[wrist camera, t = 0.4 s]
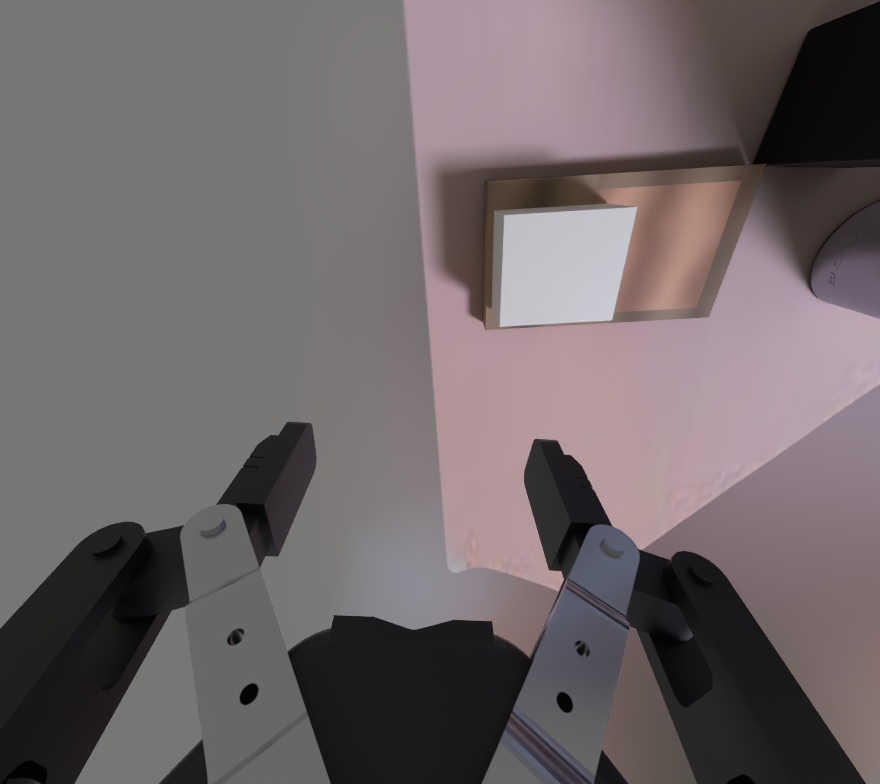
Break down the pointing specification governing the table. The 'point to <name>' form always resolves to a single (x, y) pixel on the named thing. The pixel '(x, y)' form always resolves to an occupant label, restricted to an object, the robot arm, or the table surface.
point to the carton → (559, 263)
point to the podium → (647, 232)
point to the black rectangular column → (831, 99)
